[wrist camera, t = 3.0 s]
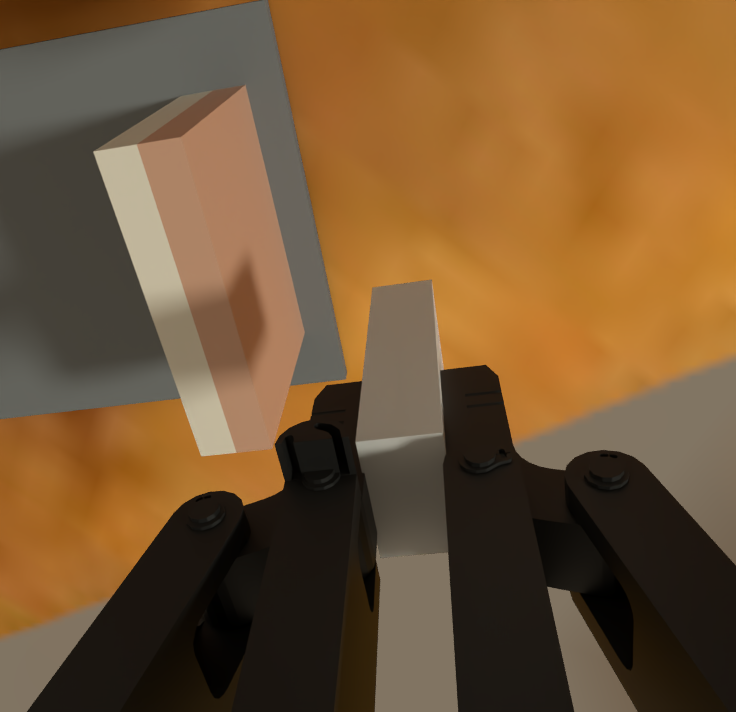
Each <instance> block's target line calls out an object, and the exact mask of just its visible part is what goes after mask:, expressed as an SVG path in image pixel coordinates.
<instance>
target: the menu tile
mask: <svg viewBox="0 0 736 712" xmlns="http://www.w3.org/2000/svg"><path fill="white" fill-rule="evenodd" d="M93 153H94V155H95V158H96V161H97V164H98V167H99V170H100V172H101V175H102V178H103V181H104V184H105V186H106V189H107V192H108V195H109V198H110V200H111V203H112V206H113V209H114V212H115V215H116V217H117V220H118V223H119V226H120V229H121V231H122V234H123V237H124V240H125V243H126V246H127V248H128V251H129V254H130V257H131V260H132V262H133V265H134V268H135V271H136V274H137V277H138V279H139V282H140V285H141V288H142V291H143V293H144V296H145V299H146V302H147V305H148V307H149V310H150V313H151V316H152V319H153V322H154V324H155V327H156V330H157V333H158V336H159V338H160V341H161V344H162V347H163V350H164V353H165V355H166V358H167V361H168V364H169V367H170V369H171V372H172V375H173V378H174V381H175V384H176V386H177V389H178V392H179V395H180V398H181V400H182V403H183V406H184V409H185V412H186V414H187V417H188V420H189V423H190V426H191V429H192V431H193V434H194V437H195V440H196V443H197V445H198V448H199V451H200V454H201V456H209V455H219V454H228V453H238V452H248V451H257V450H267V449H272V448H273V444H274V440H275V437H276V433H277V430H278V426H279V423H280V419H281V416H282V412H283V408H284V405H285V401H286V398H287V394H288V391H289V387H290V384H291V380H292V376H293V373H294V369H295V366H296V362H297V359H298V355H299V352H300V348H301V344H302V341H303V337H304V334H305V331H304V327H303V323H302V319H301V315H300V311H299V306H298V302H297V298H296V294H295V290H294V286H293V281H292V277H291V273H290V269H289V265H288V260H287V256H286V252H285V248H284V244H283V240H282V235H281V231H280V227H279V223H278V219H277V215H276V210H275V206H274V202H273V198H272V194H271V190H270V185H269V181H268V177H267V173H266V169H265V164H264V160H263V156H262V152H261V148H260V144H259V139H258V135H257V131H256V127H255V123H254V119H253V114H252V110H251V106H250V102H249V98H248V93H247V89H246V85H242V86H236V87H230V88H224V89H219V90H213V91H207V92H201V93H196V94H190V95H184V96H180V97H179V98H177V99H175V100H174V101H172V102H171V103H169V104H168V105H166V106H164V107H163V108H161V109H160V110H158V111H156V112H155V113H153V114H152V115H150V116H149V117H147V118H145V119H144V120H142V121H141V122H139V123H138V124H136V125H134V126H133V127H131V128H130V129H128V130H126V131H125V132H123V133H122V134H120V135H119V136H117V137H115V138H114V139H112V140H111V141H109V142H108V143H106V144H104V145H103V146H101V147H100V148H98V149H96V150H95V151H93Z"/></svg>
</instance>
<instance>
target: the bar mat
mask: <svg viewBox="0 0 736 712" xmlns="http://www.w3.org/2000/svg"><path fill="white" fill-rule="evenodd" d="M242 85H246V89H247V93H248V98H249V102H250V106H251V110H252V114H253V119H254V123H255V127H256V131H257V135H258V139H259V144H260V148H261V152H262V156H263V160H264V164H265V169H266V173H267V177H268V181H269V185H270V190H271V194H272V198H273V202H274V206H275V210H276V215H277V219H278V223H279V227H280V231H281V235H282V240H283V244H284V248H285V252H286V256H287V260H288V265H289V269H290V273H291V277H292V281H293V286H294V290H295V294H296V298H297V302H298V306H299V311H300V315H301V319H302V323H303V327H304V331H305V334H304V337H303V341H302V344H301V348H300V352H299V355H298V359H297V362H296V366H295V369H294V373H293V376H292V380H291V384H290V386H291V385H300V384H309V383H317V382H326V381H335V380H343V379H346V375H347V370H346V366H345V361H344V356H343V351H342V347H341V342H340V337H339V333H338V328H337V323H336V319H335V314H334V309H333V304H332V300H331V295H330V290H329V286H328V281H327V276H326V272H325V267H324V262H323V258H322V253H321V248H320V243H319V239H318V234H317V229H316V225H315V220H314V215H313V211H312V206H311V201H310V197H309V192H308V187H307V182H306V178H305V173H304V168H303V164H302V159H301V154H300V150H299V145H298V140H297V136H296V131H295V126H294V121H293V117H292V112H291V107H290V103H289V98H288V93H287V89H286V84H285V79H284V75H283V70H282V65H281V60H280V56H279V51H278V46H277V42H276V37H275V32H274V28H273V23H272V18H271V14H270V9H269V4H268V0H259V1H253V2H248V3H243V4H238V5H232V6H227V7H222V8H217V9H211V10H206V11H201V12H195V13H190V14H185V15H180V16H174V17H169V18H164V19H158V20H153V21H148V22H143V23H137V24H132V25H127V26H121V27H116V28H111V29H106V30H100V31H95V32H90V33H84V34H79V35H74V36H69V37H63V38H58V39H53V40H48V41H42V42H37V43H32V44H26V45H21V46H16V47H11V48H5V49H0V419H5V418H13V417H22V416H31V415H40V414H48V413H57V412H66V411H74V410H83V409H92V408H100V407H109V406H118V405H126V404H135V403H144V402H152V401H161V400H170V399H178V398H180V395H179V392H178V389H177V386H176V384H175V381H174V378H173V375H172V372H171V369H170V367H169V364H168V361H167V358H166V355H165V353H164V350H163V347H162V344H161V341H160V338H159V336H158V333H157V330H156V327H155V324H154V322H153V319H152V316H151V313H150V310H149V307H148V305H147V302H146V299H145V296H144V293H143V291H142V288H141V285H140V282H139V279H138V277H137V274H136V271H135V268H134V265H133V262H132V260H131V257H130V254H129V251H128V248H127V246H126V243H125V240H124V237H123V234H122V231H121V229H120V226H119V223H118V220H117V217H116V215H115V212H114V209H113V206H112V203H111V200H110V198H109V195H108V192H107V189H106V186H105V184H104V181H103V178H102V175H101V172H100V170H99V167H98V164H97V161H96V158H95V155H94V153H93V151H95V150H96V149H98V148H100V147H101V146H103V145H104V144H106V143H108V142H109V141H111V140H112V139H114V138H115V137H117V136H119V135H120V134H122V133H123V132H125V131H126V130H128V129H130V128H131V127H133V126H134V125H136V124H138V123H139V122H141V121H142V120H144V119H145V118H147V117H149V116H150V115H152V114H153V113H155V112H156V111H158V110H160V109H161V108H163V107H164V106H166V105H168V104H169V103H171V102H172V101H174V100H175V99H177V98H179V97H180V96H184V95H190V94H196V93H201V92H207V91H213V90H219V89H224V88H230V87H236V86H242Z"/></svg>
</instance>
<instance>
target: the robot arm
mask: <svg viewBox="0 0 736 712" xmlns="http://www.w3.org/2000/svg"><path fill="white" fill-rule="evenodd" d="M275 447H276V451H277V455H278V458H279V462H280V465H281V469H282V472H283V476H284V479H285V484H284V488H283V490H282V491H280V492H279V493H277V494H275V495H273V496H271V497H268V498H266V499H263V500H260V501H257V502H254V503H251V504H248V505H245V506H243V503H242V500H241V499H240V498H239V497H238V496H236V495H235V494H234V493H230V492H226V491H215V492H208V493H205V494H202V495H199V496H196V497H194V498H192V499H191V500H189V501H187V502H185V503H184V504H183V505H181V506H180V507H179V508H178V509H177V510H176V511H175V512H174V514H173V515H172V516H171V518H170V519H169V520H168V522H167V523H166V524H165V526H164V527H163V528H162V530H161V531H160V532H159V534H158V535H157V537H156V538H155V539H154V541H153V542H152V543H151V545H150V546H149V547H148V549H147V550H146V551H145V553H144V554H143V555H142V557H141V558H140V559H139V561H138V562H137V564H136V565H135V566H134V568H133V569H132V570H131V572H130V573H129V574H128V576H127V577H126V578H125V580H124V581H123V582H122V584H121V585H120V587H119V588H118V589H117V591H116V592H115V593H114V595H113V596H112V597H111V599H110V600H109V601H108V603H107V604H106V605H105V607H104V608H103V610H102V611H101V612H100V614H99V615H98V616H97V618H96V619H95V620H94V622H93V623H92V624H91V626H90V627H89V628H88V630H87V631H86V633H85V634H84V635H83V637H82V638H81V639H80V641H79V642H78V644H77V645H76V646H75V648H74V649H73V650H72V651H71V653H70V654H69V656H68V657H67V658H66V660H65V661H64V662H63V664H62V665H61V666H60V668H59V669H58V670H57V672H56V673H55V675H54V676H53V677H52V679H51V680H50V681H49V683H48V684H47V685H46V687H45V688H44V689H43V691H42V692H41V693H40V695H39V696H38V697H37V699H36V700H35V702H34V703H33V704H32V706H31V707H30V709H29V710H28V711H27V712H375V690H376V667H377V643H378V619H379V595H380V577H379V572H378V567H377V563H376V548H377V547H376V546H377V545H378V549H379V554H380V558H387V557H399V556H410V555H422V554H434V553H445V552H448V555H449V571H450V587H451V602H452V618H453V634H454V650H455V666H456V681H457V698H458V712H574V709H573V704H572V699H571V695H570V690H569V685H568V681H567V676H566V672H565V667H564V662H563V658H562V653H561V649H560V644H559V640H558V635H557V630H556V626H555V621H554V617H553V612H552V607H551V603H550V598H549V594H548V589H547V587H552V588H557V589H563V590H568V591H570V593H571V596H572V600H573V601H574V603H575V605H576V606H577V608H578V610H579V612H580V613H581V615H582V617H583V619H584V620H585V622H586V624H587V625H588V627H589V629H590V631H591V632H592V634H593V636H594V637H595V639H596V641H597V643H598V644H599V646H600V648H601V649H602V651H603V653H604V655H605V656H606V658H607V660H608V661H609V663H610V665H611V666H612V668H613V670H614V672H615V673H616V675H617V677H618V679H619V680H620V682H621V684H622V685H623V687H624V689H625V691H626V692H627V694H628V696H629V697H630V699H631V701H632V702H633V704H634V706H635V708H636V709H637V711H638V712H736V565H735V564H734V563H733V562H732V561H731V560H730V559H729V558H728V557H727V555H726V554H725V553H724V552H723V551H722V550H721V549H720V548H719V547H718V545H717V544H716V543H715V542H714V541H713V540H712V539H711V538H710V537H709V536H708V534H707V533H706V532H705V531H704V530H703V529H702V528H701V527H700V526H699V525H698V523H697V522H696V521H695V520H694V519H693V518H692V517H691V516H690V515H689V514H688V512H687V511H686V510H685V509H684V508H683V507H682V506H681V505H680V504H679V502H678V501H677V500H676V499H675V498H674V497H673V496H672V495H671V494H670V493H669V491H668V490H667V489H666V488H665V487H664V486H663V485H662V484H661V483H660V481H659V480H658V479H657V478H656V477H655V476H654V475H653V474H652V473H651V472H650V471H649V469H648V468H647V467H646V466H645V465H644V464H643V463H641V462H640V461H638V460H637V459H636V458H634V457H632V456H630V455H627V454H624V453H621V452H617V451H607V450H600V451H592V452H587V453H584V454H582V455H580V456H577V457H575V458H574V459H573V460H572V461H571V462H570V463H569V464H568V465H567V467H566V470H556V469H549V468H544V467H539V466H537V465H534V464H532V463H529V462H528V461H526V460H525V459H523V458H521V457H520V456H519V454H518V453H517V452H516V451H515V448H514V446H513V443H512V438H511V434H510V429H509V424H508V420H507V415H506V410H505V406H504V401H503V397H502V393H501V387H500V383H499V378H498V376H497V375H496V374H495V373H494V372H493V371H492V370H491V369H490V368H489V367H487V366H486V365H481V366H473V367H464V368H456V369H447V370H444V368H443V361H442V353H441V346H440V338H439V331H438V324H437V316H436V309H435V301H434V294H433V286H432V280H426V281H418V282H411V283H404V284H396V285H389V286H381V287H374V288H372V297H371V306H370V315H369V324H368V333H367V342H366V351H365V360H364V369H363V378H362V381H360V382H351V383H343V384H334V385H326V387H325V388H324V389H323V390H322V391H321V392H320V394H319V395H318V396H317V397H316V398H315V400H314V405H313V410H312V416H311V419H310V421H305V422H301V423H299V424H297V425H295V426H293V427H290V428H289V429H287V430H286V431H285V432H284V433H283V434H281V435H280V436H279V438H278V440H277V441H276V443H275Z"/></svg>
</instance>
